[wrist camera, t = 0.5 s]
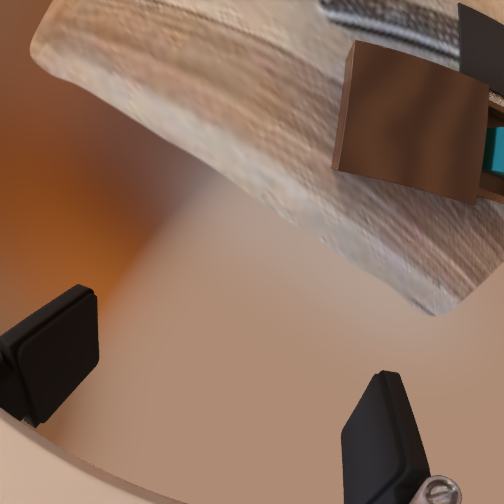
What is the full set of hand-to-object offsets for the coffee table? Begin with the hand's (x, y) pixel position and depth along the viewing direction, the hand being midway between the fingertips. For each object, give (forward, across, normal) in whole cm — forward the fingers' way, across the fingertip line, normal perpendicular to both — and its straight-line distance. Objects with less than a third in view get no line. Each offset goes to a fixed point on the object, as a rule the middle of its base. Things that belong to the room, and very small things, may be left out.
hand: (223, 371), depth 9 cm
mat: (+29, -23, -30) cm, 48 cm away
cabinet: (+29, -12, -14) cm, 34 cm away
